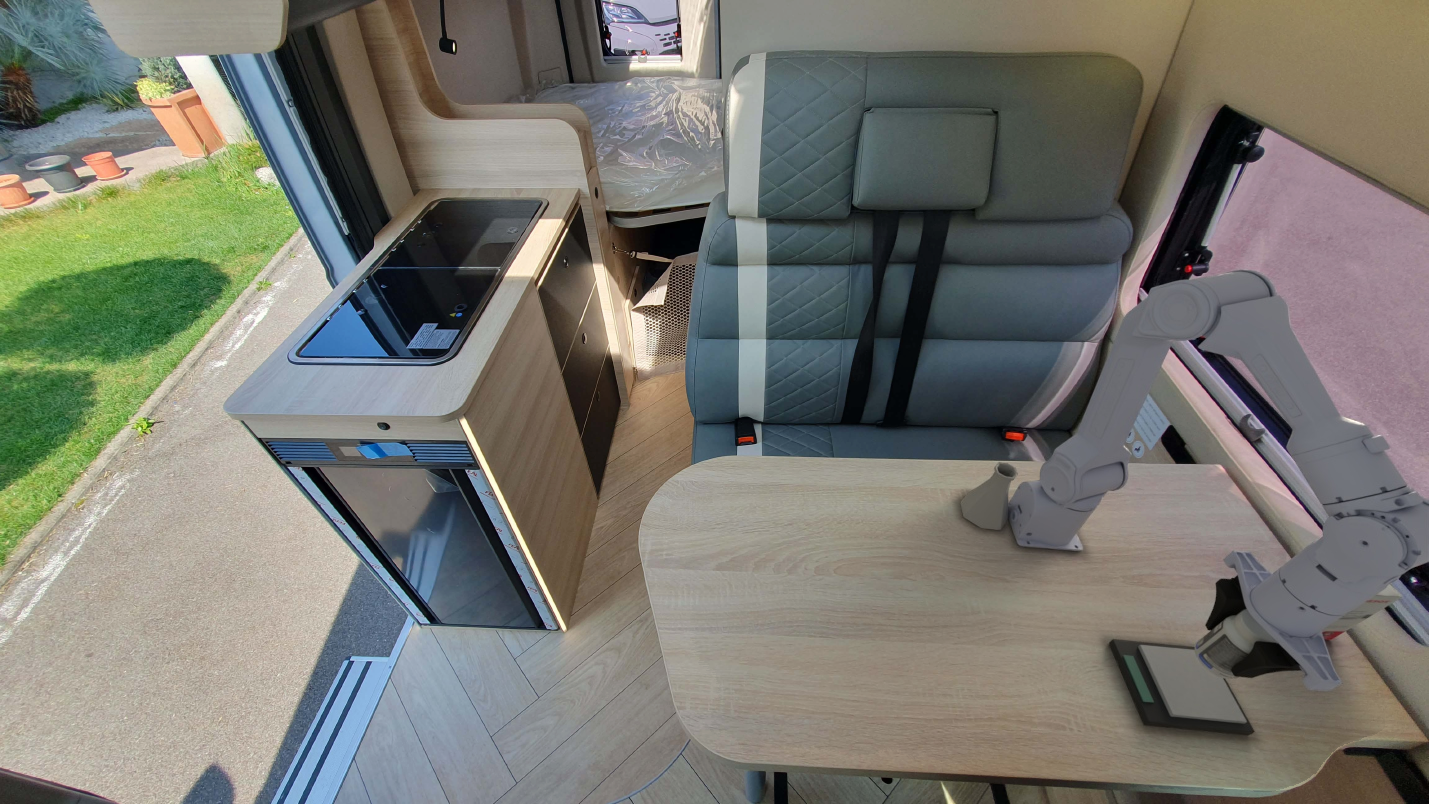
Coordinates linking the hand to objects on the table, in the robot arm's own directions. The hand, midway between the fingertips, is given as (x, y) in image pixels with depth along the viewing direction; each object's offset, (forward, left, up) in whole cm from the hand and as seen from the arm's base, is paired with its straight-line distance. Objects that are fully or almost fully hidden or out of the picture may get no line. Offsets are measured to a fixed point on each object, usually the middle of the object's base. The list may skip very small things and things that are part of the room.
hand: (1228, 650), depth 66 cm
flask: (-18, +25, -9) cm, 32 cm away
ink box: (+19, +10, -9) cm, 23 cm away
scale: (-1, -1, -9) cm, 9 cm away
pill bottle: (0, 0, -3) cm, 3 cm away
